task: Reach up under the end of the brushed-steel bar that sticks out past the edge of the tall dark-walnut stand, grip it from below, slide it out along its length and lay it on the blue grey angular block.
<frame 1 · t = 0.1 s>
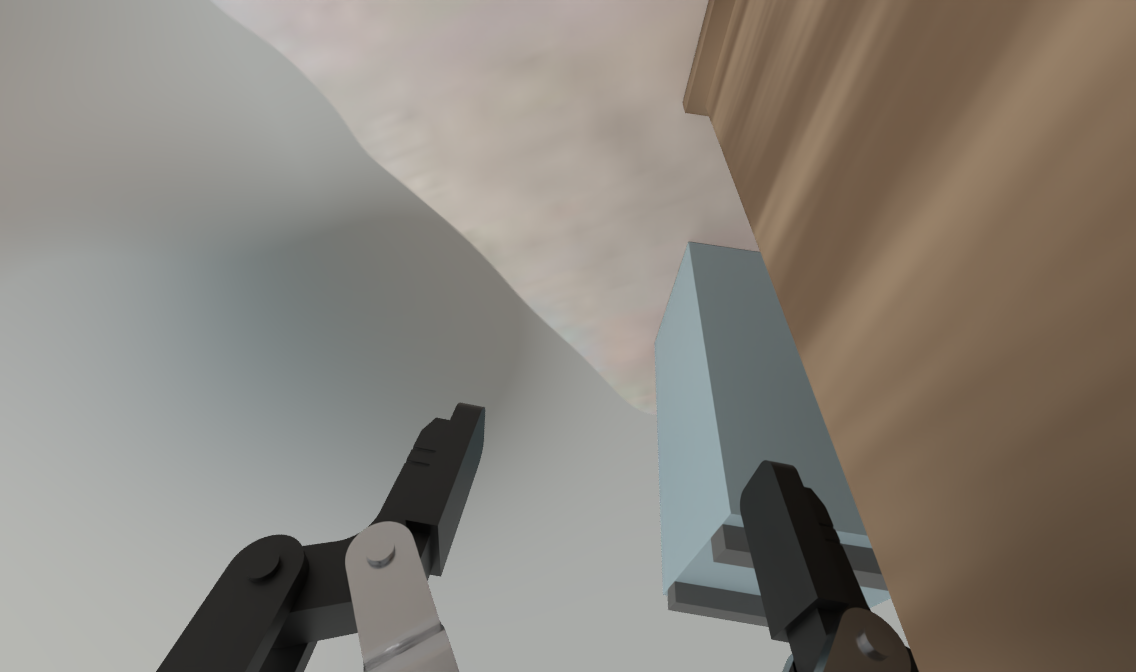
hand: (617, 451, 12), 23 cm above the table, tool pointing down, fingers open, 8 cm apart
tall stand: (847, 5, 22), on the table
blue grey angular block: (728, 307, 36), on the table
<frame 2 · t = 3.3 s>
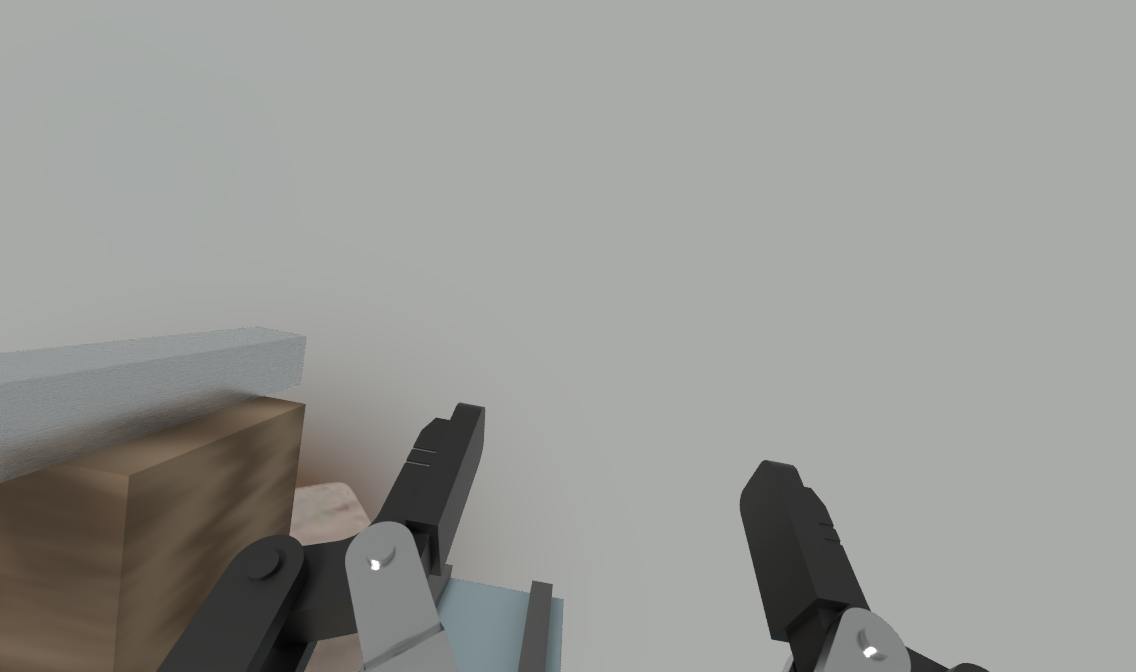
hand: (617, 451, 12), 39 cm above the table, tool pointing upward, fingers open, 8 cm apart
steel bar: (94, 432, 21), point 32 cm above the table, touching tall stand
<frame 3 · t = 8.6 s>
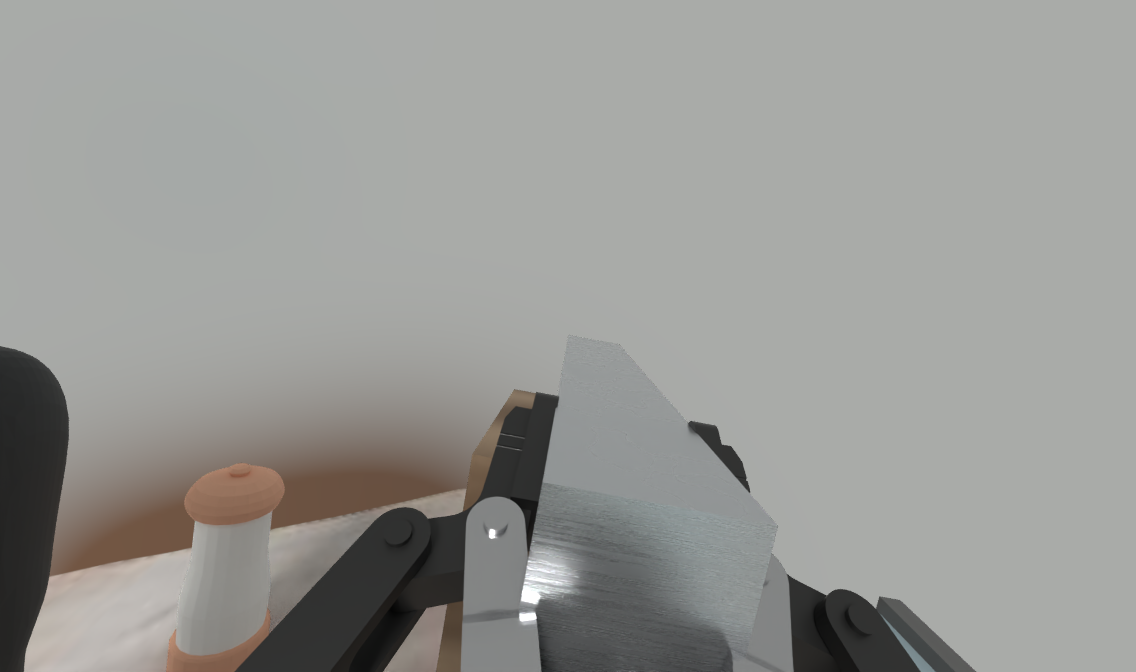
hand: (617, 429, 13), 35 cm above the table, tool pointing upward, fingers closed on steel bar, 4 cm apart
pepper shaker: (218, 663, 39), on the table
steel bar: (589, 449, 20), point 32 cm above the table, touching gripper, tall stand
when the fingers open (26 cm above the table, at t = 17.1 s): steel bar drops 1 cm, resting on blue grey angular block.
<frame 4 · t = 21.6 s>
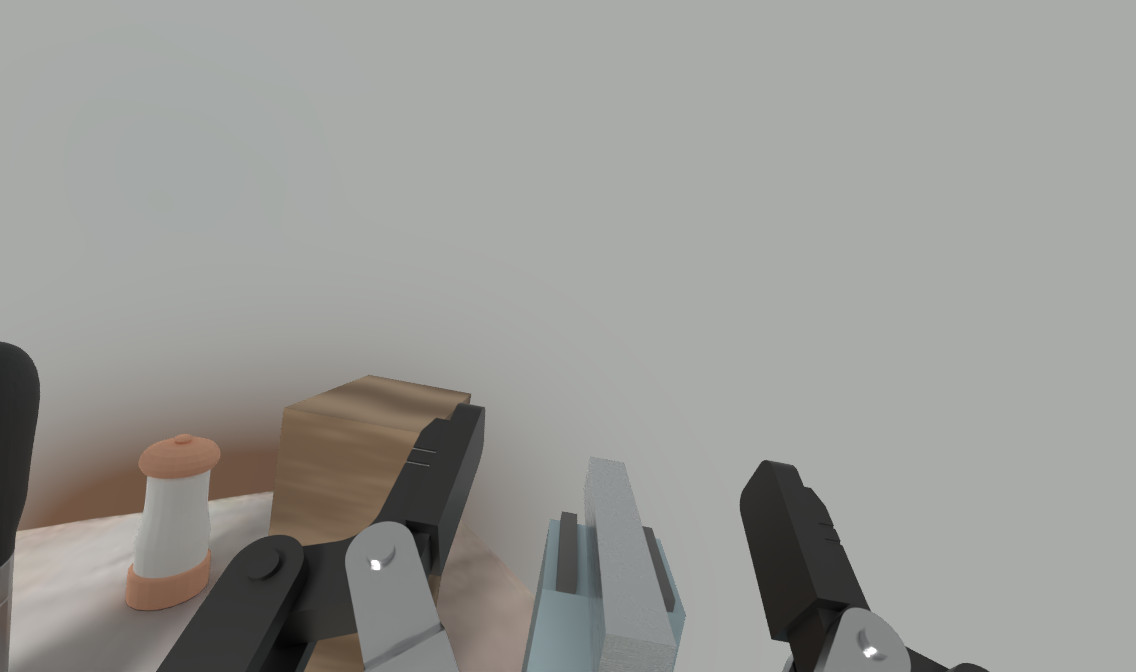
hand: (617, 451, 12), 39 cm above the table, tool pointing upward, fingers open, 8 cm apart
pepper shaker: (168, 589, 51), on the table
steel bar: (609, 561, 37), point 21 cm above the table, touching blue grey angular block
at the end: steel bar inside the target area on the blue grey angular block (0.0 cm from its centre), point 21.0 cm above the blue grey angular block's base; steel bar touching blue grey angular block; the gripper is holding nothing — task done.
